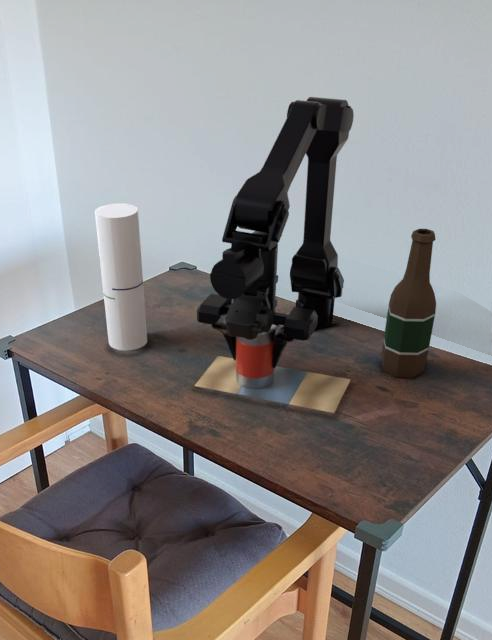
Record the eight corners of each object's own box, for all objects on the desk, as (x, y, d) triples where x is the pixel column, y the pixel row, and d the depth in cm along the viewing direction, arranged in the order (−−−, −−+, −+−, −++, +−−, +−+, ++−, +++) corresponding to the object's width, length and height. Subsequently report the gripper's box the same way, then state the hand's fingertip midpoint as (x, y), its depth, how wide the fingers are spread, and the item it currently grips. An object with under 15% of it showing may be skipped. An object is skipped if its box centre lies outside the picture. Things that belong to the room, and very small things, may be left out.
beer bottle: (373, 372, 130) (392, 235, 115) (386, 353, 135) (406, 219, 120) (418, 382, 127) (443, 243, 112) (430, 362, 132) (455, 226, 117)
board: (350, 384, 127) (350, 379, 126) (333, 418, 119) (334, 412, 118) (218, 360, 135) (218, 355, 134) (194, 390, 127) (194, 385, 126)
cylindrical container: (142, 356, 136) (131, 218, 121) (104, 353, 138) (89, 216, 122) (151, 338, 142) (142, 204, 126) (115, 335, 143) (102, 202, 128)
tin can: (263, 366, 130) (265, 312, 124) (280, 384, 126) (283, 328, 119) (229, 374, 129) (229, 319, 122) (245, 392, 124) (246, 336, 118)
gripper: (181, 285, 113) (184, 376, 122) (301, 304, 107) (294, 398, 117) (209, 258, 121) (210, 345, 131) (322, 274, 115) (314, 364, 125)
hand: (255, 363), depth 125 cm, fingers closed on tin can, 6 cm apart
